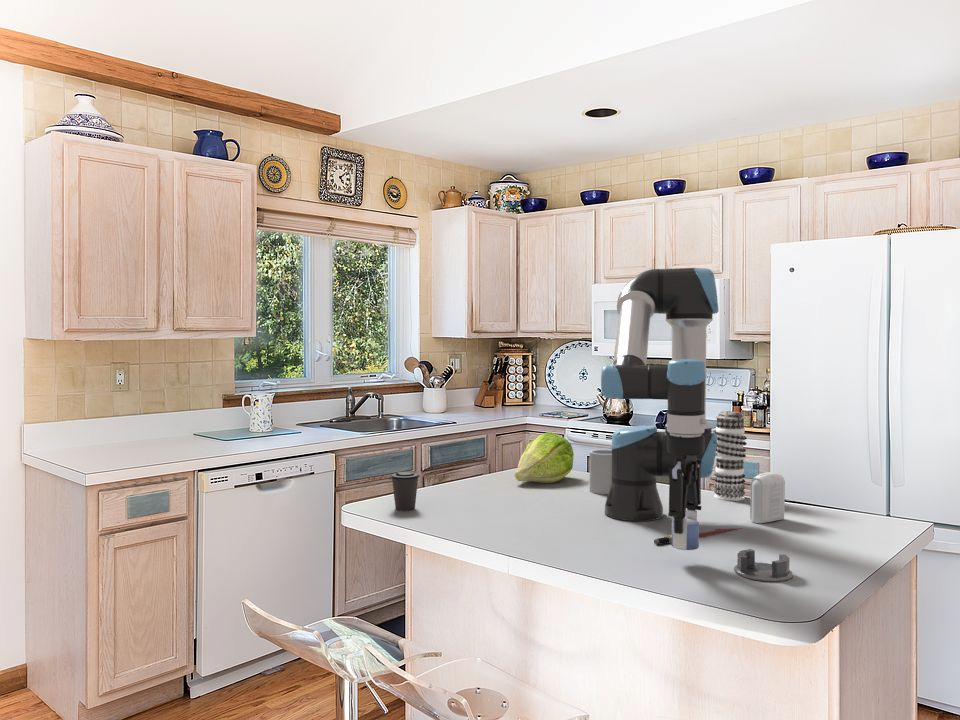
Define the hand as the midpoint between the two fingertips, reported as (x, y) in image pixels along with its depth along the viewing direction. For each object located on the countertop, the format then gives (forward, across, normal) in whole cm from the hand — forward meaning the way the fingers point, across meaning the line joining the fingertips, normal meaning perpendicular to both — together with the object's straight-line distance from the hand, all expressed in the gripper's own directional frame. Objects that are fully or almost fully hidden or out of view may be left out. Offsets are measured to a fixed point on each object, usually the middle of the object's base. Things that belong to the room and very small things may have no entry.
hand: (684, 544), depth 160 cm
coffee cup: (+5, +6, +81) cm, 81 cm away
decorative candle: (+6, +69, +11) cm, 70 cm away
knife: (+5, +23, +5) cm, 24 cm away
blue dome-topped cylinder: (0, 0, 0) cm, 0 cm away
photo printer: (+6, +47, -5) cm, 48 cm away
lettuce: (+7, +61, +69) cm, 92 cm away
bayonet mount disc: (+4, +2, -15) cm, 16 cm away
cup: (+6, +57, +45) cm, 73 cm away
